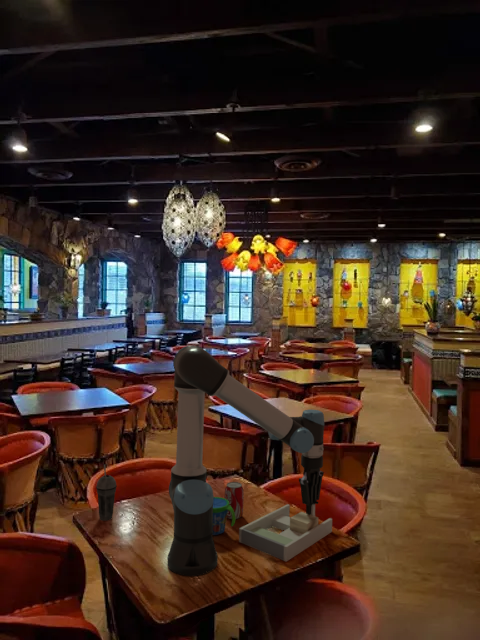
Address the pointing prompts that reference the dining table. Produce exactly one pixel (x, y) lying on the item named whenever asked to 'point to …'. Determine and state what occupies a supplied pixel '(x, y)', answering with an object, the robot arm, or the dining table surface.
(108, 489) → the beverage cup
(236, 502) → the soda can
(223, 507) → the snack cup
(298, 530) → the beech block
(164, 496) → the dining table surface
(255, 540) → the trap box
